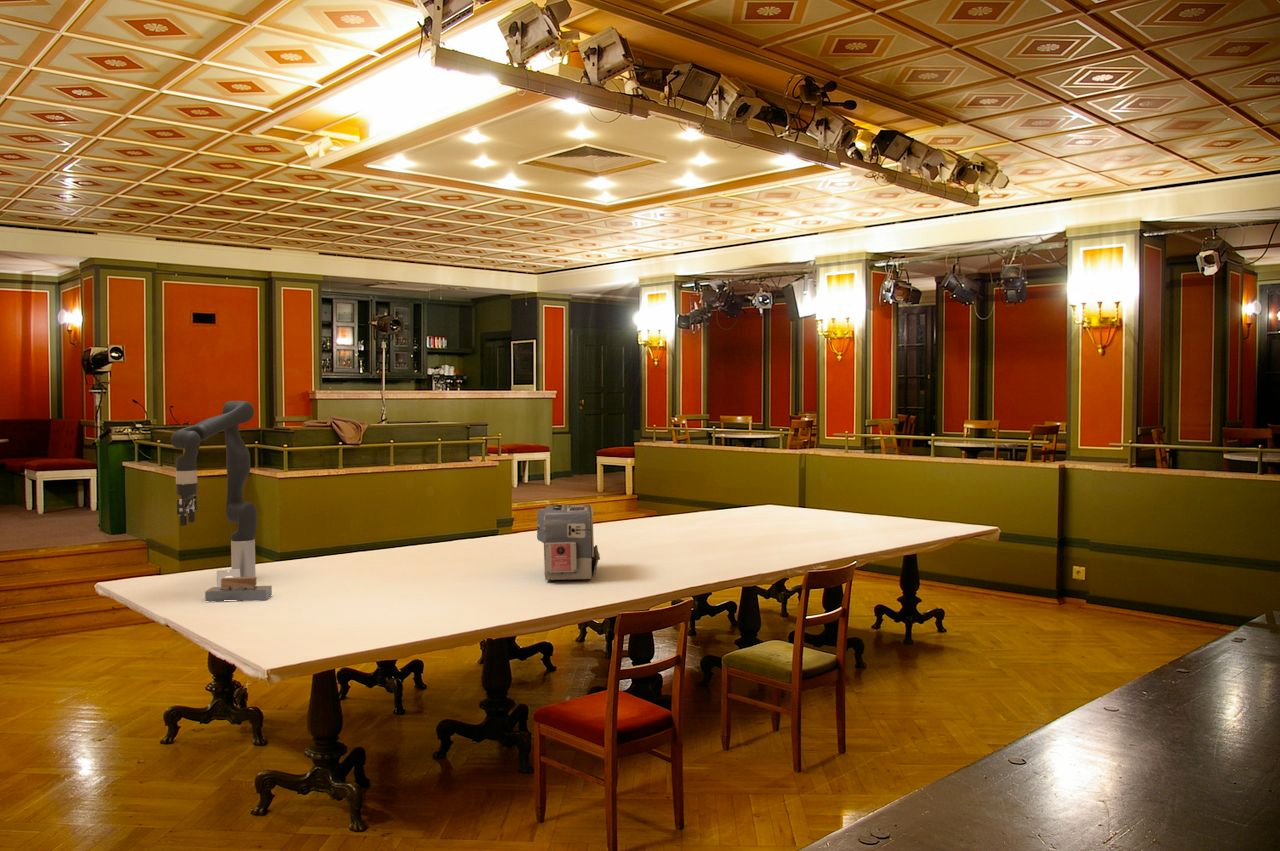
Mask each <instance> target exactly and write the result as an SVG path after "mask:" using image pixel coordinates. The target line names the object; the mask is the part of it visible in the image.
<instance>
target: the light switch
mask: <svg viewBox="0 0 1280 851" xmlns="http://www.w3.org/2000/svg"><path fill="white" fill-rule="evenodd" d="M229 577H240V569H232V568H230V569H221V570H219V569H218V570H217V571H216V587H221V579H222V578H229Z"/></svg>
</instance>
